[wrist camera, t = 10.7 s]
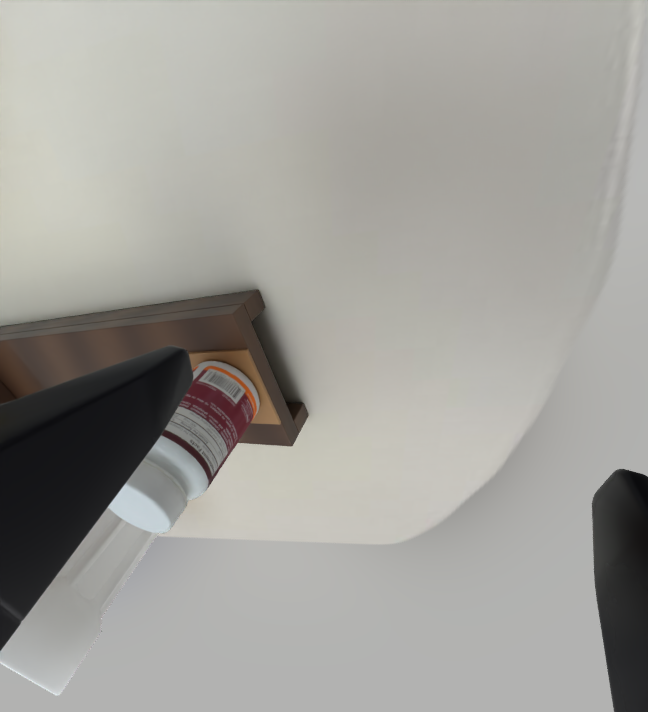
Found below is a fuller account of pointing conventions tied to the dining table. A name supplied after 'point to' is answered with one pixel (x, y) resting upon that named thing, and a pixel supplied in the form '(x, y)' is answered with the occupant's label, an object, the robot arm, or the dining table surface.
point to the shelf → (148, 333)
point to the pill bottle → (189, 448)
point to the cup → (76, 604)
